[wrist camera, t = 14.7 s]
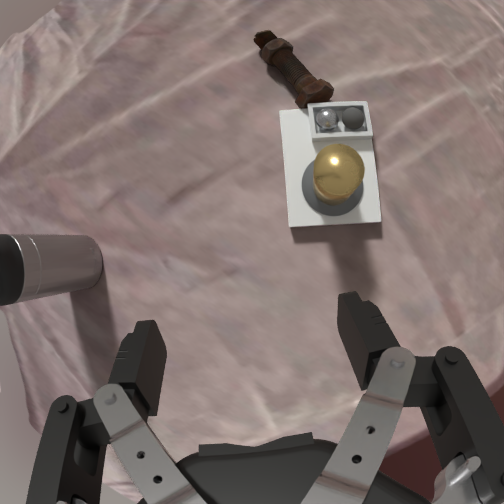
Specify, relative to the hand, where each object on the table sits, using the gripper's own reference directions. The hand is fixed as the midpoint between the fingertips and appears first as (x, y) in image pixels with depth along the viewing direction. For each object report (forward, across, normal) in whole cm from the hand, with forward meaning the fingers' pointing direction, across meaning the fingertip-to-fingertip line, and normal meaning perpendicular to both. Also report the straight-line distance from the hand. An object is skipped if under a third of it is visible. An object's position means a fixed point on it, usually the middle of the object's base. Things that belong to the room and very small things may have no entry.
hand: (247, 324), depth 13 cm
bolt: (+39, -10, -12) cm, 42 cm away
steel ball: (+30, -12, -5) cm, 33 cm away
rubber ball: (+29, -16, -5) cm, 33 cm away
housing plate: (+30, -12, +2) cm, 33 cm away
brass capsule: (+27, -12, +3) cm, 29 cm away
